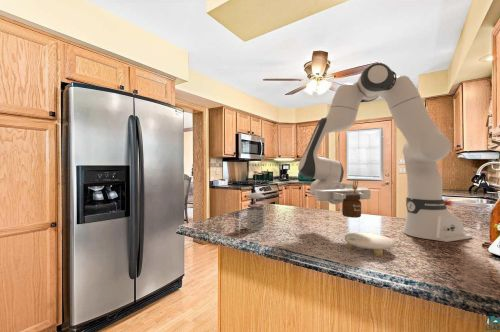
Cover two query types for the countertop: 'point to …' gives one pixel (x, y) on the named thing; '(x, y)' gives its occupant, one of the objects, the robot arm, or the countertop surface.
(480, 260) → the countertop surface
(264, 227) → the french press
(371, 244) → the leveling stand
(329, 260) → the countertop surface
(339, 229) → the countertop surface
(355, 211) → the utensil holder
